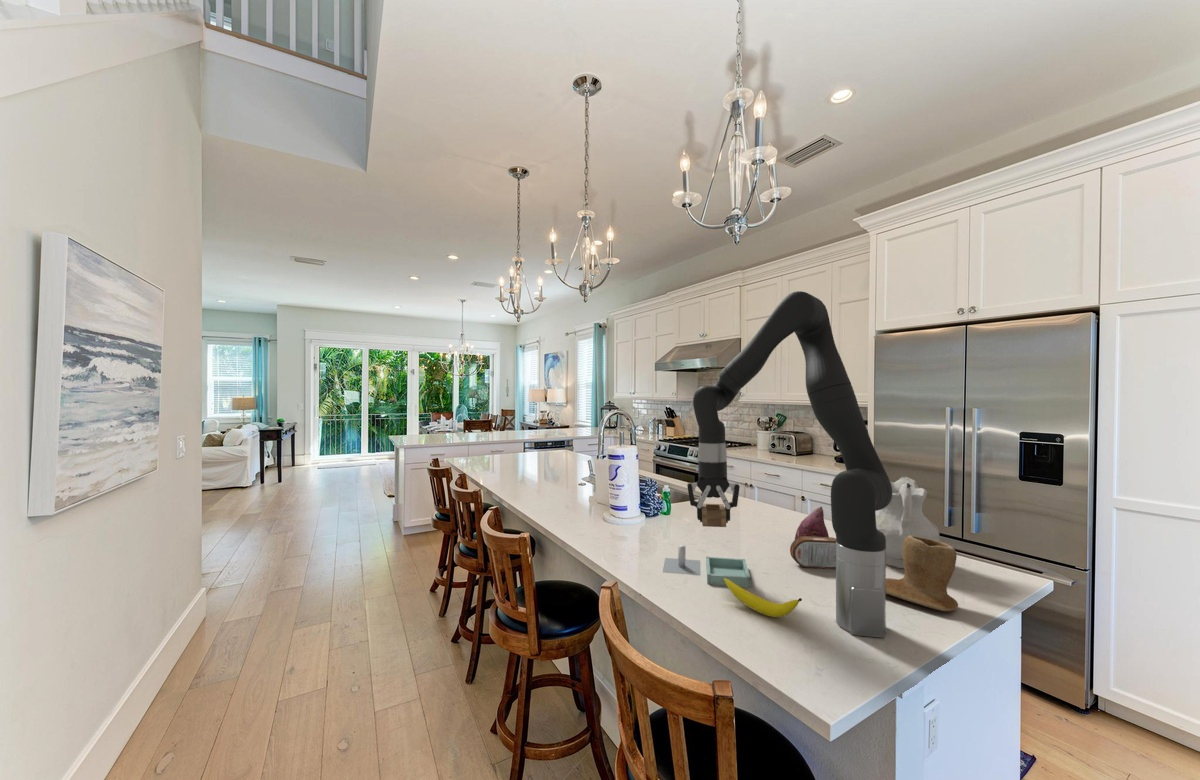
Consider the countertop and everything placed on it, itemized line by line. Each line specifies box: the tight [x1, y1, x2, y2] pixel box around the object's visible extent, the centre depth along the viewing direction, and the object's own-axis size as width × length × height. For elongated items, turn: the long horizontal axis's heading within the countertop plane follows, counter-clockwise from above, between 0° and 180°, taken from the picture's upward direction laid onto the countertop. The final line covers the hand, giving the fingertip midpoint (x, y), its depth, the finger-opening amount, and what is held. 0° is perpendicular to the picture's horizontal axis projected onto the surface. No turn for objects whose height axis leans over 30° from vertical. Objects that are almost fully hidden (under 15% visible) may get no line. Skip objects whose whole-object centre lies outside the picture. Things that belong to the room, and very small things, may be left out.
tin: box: [789, 536, 836, 570], centre depth 132 cm, size 15×3×8 cm, turn 84°
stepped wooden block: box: [701, 503, 727, 528], centre depth 126 cm, size 9×6×4 cm, turn 169°
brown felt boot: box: [886, 535, 959, 612], centre depth 111 cm, size 15×12×15 cm
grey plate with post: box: [662, 544, 701, 576], centre depth 131 cm, size 11×10×6 cm
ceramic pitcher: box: [875, 475, 940, 569], centre depth 135 cm, size 22×20×25 cm
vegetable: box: [794, 506, 830, 540], centre depth 149 cm, size 10×10×15 cm
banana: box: [724, 578, 802, 618], centre depth 105 cm, size 3×19×6 cm, turn 41°
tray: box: [705, 556, 752, 588], centre depth 125 cm, size 14×11×3 cm
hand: (713, 521), depth 126 cm, fingers closed on stepped wooden block, 6 cm apart
